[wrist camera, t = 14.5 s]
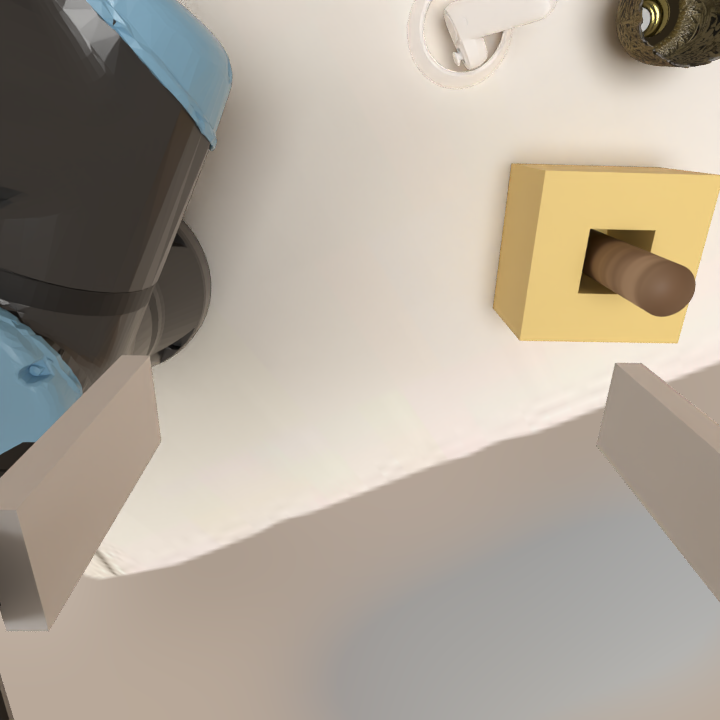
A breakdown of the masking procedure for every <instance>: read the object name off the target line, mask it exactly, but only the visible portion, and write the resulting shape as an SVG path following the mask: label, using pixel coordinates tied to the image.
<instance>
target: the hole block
mask: <svg viewBox="0 0 720 720" xmlns="http://www.w3.org/2000/svg"><path fill="white" fill-rule="evenodd" d="M719 190H720V175H716V174H708V173H700V172H692V171H684V170H676V169H667V168H657V167H621V166H585V165H549V164H513V163H512V164H511V171H510V179H509V187H508V195H507V203H506V210H505V218H504V226H503V234H502V242H501V249H500V257H499V265H498V273H497V281H496V288H495V296H494V304H493V309H494V310H495V311H496V312H497V314H498V315H499V316H500V317H501V318H502V320H503V321H504V322H505V323H506V325H507V326H508V327H509V328H510V329H511V331H512V332H513V333H514V334H515V336H516V337H517V338H518V339H519V340H520V341H570V342H629V343H678V340H679V336H680V333H681V329H682V325H683V322H684V318H685V314H686V311H687V307H688V304H687V305H686V306H685V307H684V308H683V309H682V310H681V311H679V312H677V313H676V314H673V315H670V316H666V317H658V316H654V315H651V314H649V313H648V312H646V311H645V310H643V309H641V308H640V307H638V306H636V305H635V304H633V303H631V302H630V301H628V300H626V299H625V298H623V297H622V296H620V295H618V294H617V293H615V292H613V291H612V290H610V289H608V288H607V287H605V286H603V285H602V284H600V283H599V282H597V281H595V280H594V279H592V278H590V277H589V276H587V275H585V274H584V273H582V269H583V264H584V258H585V253H586V248H587V243H588V237H589V232H590V229H594V230H596V231H599V232H601V233H604V234H606V235H609V236H611V237H614V238H616V239H619V240H621V241H624V242H626V243H628V244H631V245H633V246H636V247H638V248H641V249H643V250H646V251H648V252H651V253H653V254H656V255H658V256H660V257H663V258H665V259H668V260H670V261H673V262H675V263H678V264H680V265H683V266H685V267H687V268H688V269H689V270H690V271H691V272H692V274H693V275H694V278H696V274H697V271H698V267H699V263H700V260H701V256H702V252H703V249H704V245H705V241H706V238H707V234H708V231H709V227H710V223H711V220H712V216H713V212H714V209H715V205H716V201H717V198H718V194H719Z"/></svg>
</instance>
